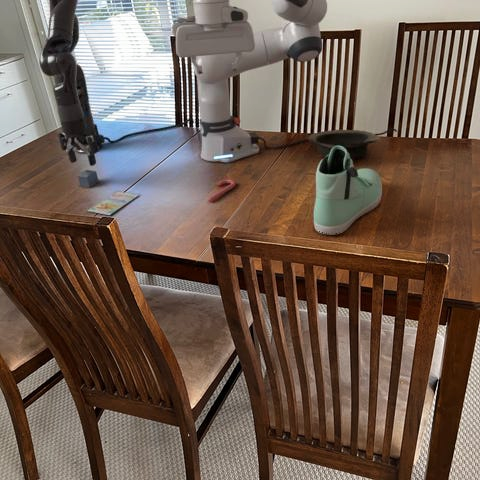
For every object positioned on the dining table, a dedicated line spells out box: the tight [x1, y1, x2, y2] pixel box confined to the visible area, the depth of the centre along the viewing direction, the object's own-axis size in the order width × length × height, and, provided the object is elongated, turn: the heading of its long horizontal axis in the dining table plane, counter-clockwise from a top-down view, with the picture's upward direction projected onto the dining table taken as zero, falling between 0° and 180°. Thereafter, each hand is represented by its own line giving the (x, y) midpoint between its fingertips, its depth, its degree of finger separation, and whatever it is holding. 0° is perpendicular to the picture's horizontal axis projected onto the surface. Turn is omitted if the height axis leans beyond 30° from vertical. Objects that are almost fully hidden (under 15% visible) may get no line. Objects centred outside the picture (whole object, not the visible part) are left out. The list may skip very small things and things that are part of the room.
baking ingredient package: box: [87, 191, 139, 216], centre depth 152 cm, size 9×1×15 cm
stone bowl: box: [307, 129, 380, 162], centre depth 171 cm, size 25×25×9 cm
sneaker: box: [313, 146, 383, 236], centre depth 133 cm, size 14×35×20 cm, turn 152°
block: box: [77, 169, 99, 189], centre depth 166 cm, size 4×5×4 cm
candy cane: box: [207, 178, 236, 203], centre depth 154 cm, size 6×15×2 cm, turn 145°
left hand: (83, 163), depth 163 cm, fingers open, 8 cm apart
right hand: (217, 72), depth 126 cm, fingers open, 8 cm apart
